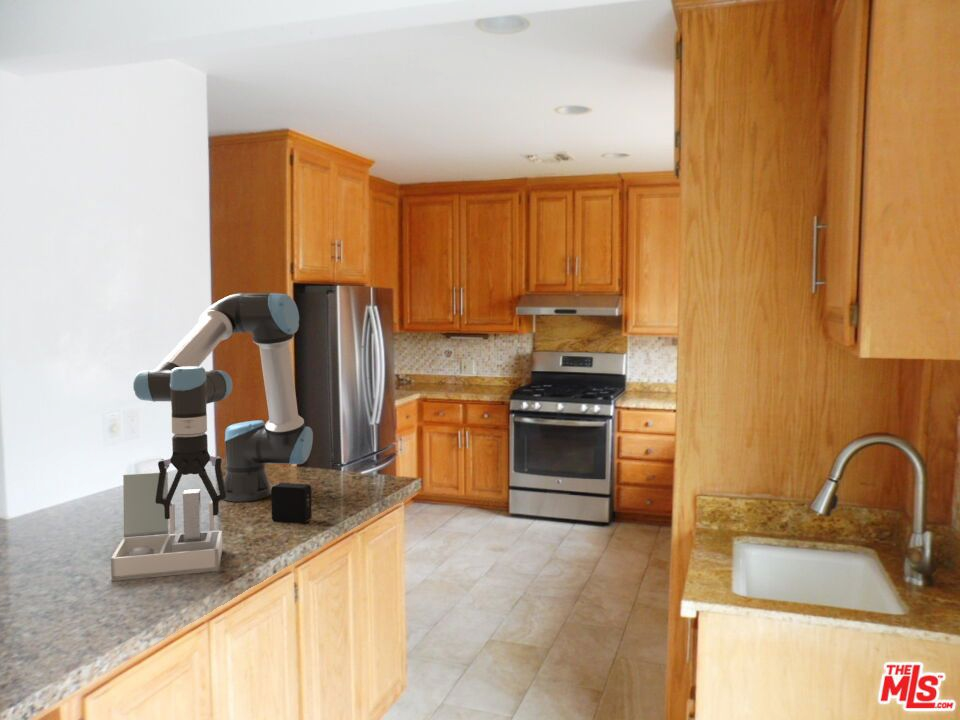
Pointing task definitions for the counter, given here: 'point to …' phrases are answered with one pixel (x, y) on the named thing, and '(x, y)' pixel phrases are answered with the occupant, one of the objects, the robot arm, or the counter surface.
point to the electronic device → (291, 503)
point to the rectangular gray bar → (192, 515)
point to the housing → (166, 556)
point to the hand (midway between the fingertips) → (192, 530)
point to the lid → (143, 505)
